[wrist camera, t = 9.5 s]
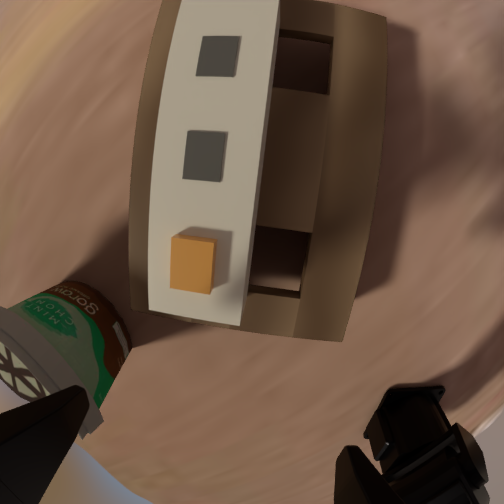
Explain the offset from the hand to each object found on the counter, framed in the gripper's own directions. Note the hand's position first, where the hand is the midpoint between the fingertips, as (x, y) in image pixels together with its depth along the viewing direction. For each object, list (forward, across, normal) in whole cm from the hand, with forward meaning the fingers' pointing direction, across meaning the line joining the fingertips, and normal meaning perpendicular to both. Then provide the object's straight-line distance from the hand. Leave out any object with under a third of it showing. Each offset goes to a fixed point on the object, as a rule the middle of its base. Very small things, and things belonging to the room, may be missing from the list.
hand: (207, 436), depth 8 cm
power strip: (+10, +2, -9) cm, 14 cm away
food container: (+12, +13, +4) cm, 18 cm away
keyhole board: (+12, +1, -9) cm, 14 cm away
